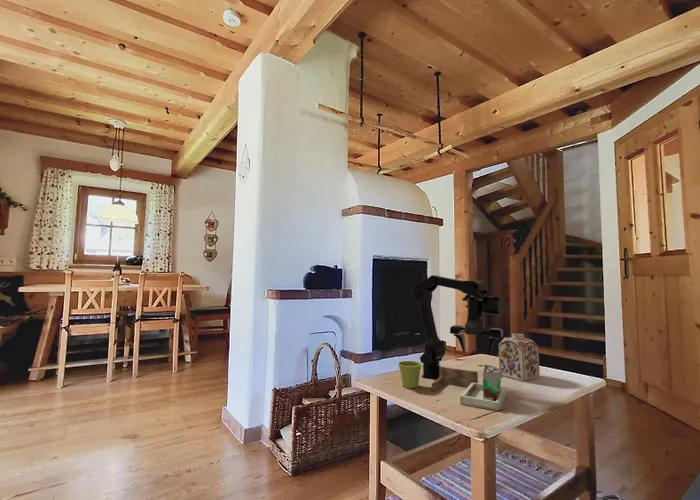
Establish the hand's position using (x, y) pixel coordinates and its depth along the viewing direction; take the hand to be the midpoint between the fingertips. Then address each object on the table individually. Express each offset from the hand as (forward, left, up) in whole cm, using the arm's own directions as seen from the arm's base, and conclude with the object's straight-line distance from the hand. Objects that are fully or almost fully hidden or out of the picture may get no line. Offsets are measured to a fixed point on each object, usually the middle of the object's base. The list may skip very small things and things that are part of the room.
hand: (476, 353), depth 133 cm
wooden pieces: (-7, -5, -13) cm, 16 cm away
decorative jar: (+12, +26, -13) cm, 32 cm away
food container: (+8, -11, -12) cm, 18 cm away
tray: (+5, -11, -13) cm, 18 cm away
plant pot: (-23, -11, -13) cm, 29 cm away
